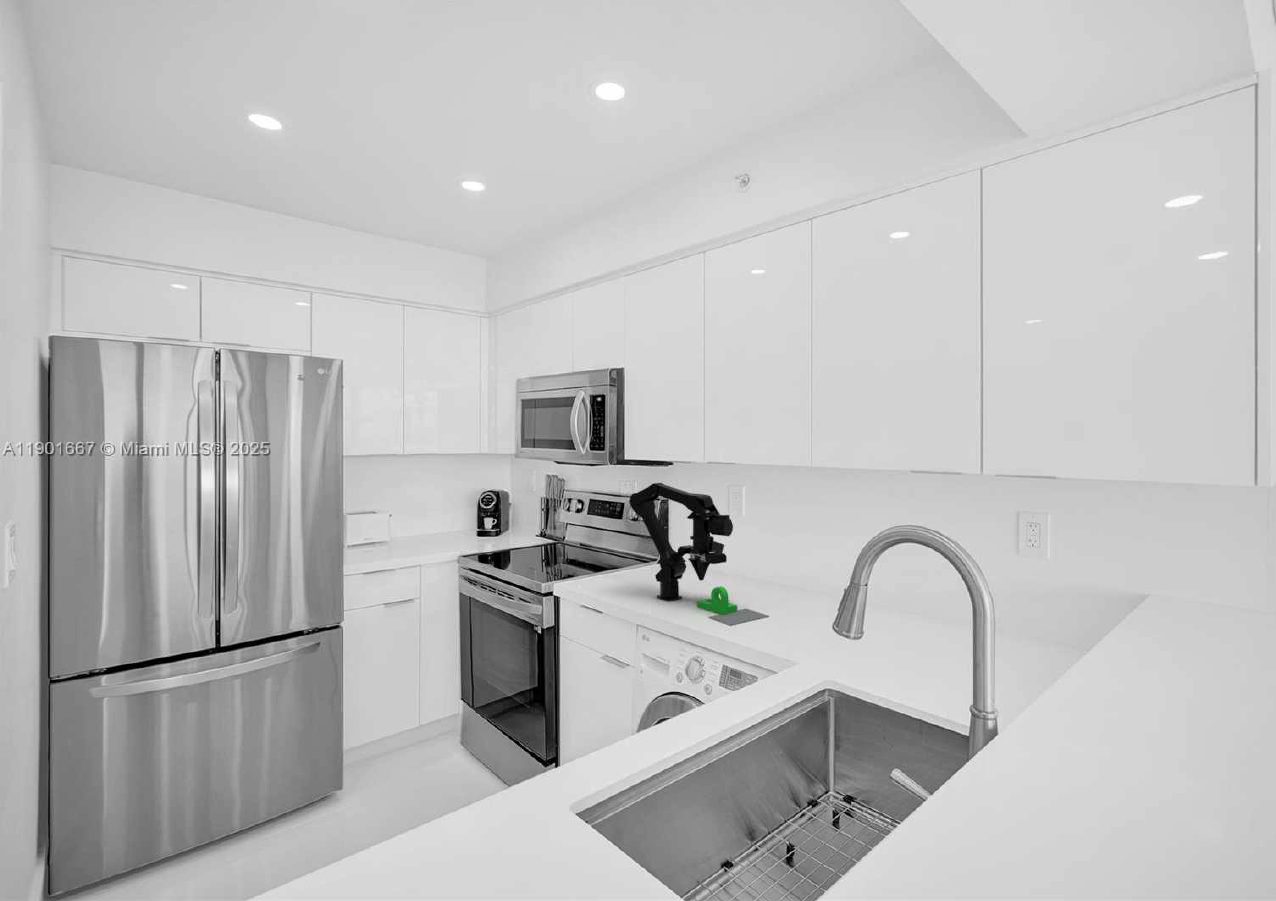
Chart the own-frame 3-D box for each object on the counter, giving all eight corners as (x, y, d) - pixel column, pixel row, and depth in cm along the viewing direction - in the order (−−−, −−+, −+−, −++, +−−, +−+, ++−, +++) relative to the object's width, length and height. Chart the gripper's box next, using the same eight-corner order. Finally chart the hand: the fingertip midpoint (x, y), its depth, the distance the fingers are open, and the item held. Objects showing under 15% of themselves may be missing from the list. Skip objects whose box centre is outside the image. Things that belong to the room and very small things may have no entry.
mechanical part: (737, 611, 196) (736, 586, 196) (724, 614, 192) (723, 589, 192) (710, 603, 205) (709, 579, 205) (697, 607, 202) (696, 582, 201)
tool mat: (708, 617, 190) (708, 616, 190) (746, 609, 199) (746, 608, 199) (730, 625, 182) (730, 625, 182) (769, 616, 191) (769, 615, 191)
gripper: (739, 534, 201) (739, 582, 202) (702, 527, 217) (701, 571, 217) (713, 538, 195) (713, 587, 195) (676, 530, 210) (676, 576, 211)
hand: (701, 580), depth 205 cm, fingers closed
